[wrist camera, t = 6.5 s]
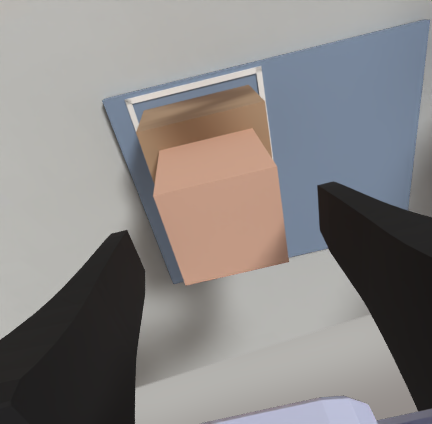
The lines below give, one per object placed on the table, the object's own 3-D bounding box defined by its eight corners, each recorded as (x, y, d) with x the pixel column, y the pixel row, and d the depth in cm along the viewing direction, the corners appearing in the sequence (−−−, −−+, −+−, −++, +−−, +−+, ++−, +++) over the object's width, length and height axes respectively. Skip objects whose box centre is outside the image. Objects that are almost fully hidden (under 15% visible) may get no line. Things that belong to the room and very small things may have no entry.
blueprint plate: (424, 19, 18) (431, 19, 17) (401, 226, 25) (406, 231, 25) (103, 99, 18) (102, 101, 18) (173, 279, 26) (173, 284, 25)
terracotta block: (252, 127, 15) (277, 166, 12) (265, 208, 18) (289, 261, 14) (159, 150, 16) (152, 195, 12) (183, 227, 18) (185, 285, 14)
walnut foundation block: (248, 84, 18) (264, 101, 15) (263, 179, 21) (279, 211, 18) (143, 110, 18) (136, 132, 15) (173, 201, 22) (172, 236, 18)
